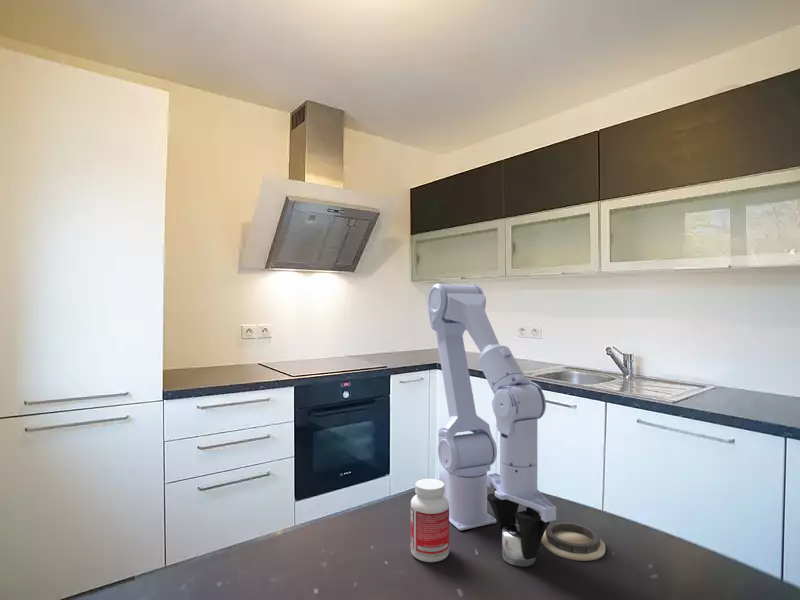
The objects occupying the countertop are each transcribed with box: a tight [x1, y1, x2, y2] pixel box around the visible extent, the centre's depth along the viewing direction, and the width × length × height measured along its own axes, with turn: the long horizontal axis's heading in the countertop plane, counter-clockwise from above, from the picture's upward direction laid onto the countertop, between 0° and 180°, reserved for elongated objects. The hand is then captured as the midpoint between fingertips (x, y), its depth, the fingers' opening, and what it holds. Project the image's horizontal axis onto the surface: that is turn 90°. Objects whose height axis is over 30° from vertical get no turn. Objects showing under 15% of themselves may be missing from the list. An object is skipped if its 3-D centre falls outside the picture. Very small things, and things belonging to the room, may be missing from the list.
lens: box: [501, 523, 536, 567], centre depth 72 cm, size 5×5×4 cm
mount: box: [541, 521, 606, 562], centre depth 76 cm, size 10×10×2 cm
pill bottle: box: [410, 478, 450, 563], centre depth 74 cm, size 6×6×11 cm
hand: (518, 548), depth 72 cm, fingers closed on lens, 5 cm apart
